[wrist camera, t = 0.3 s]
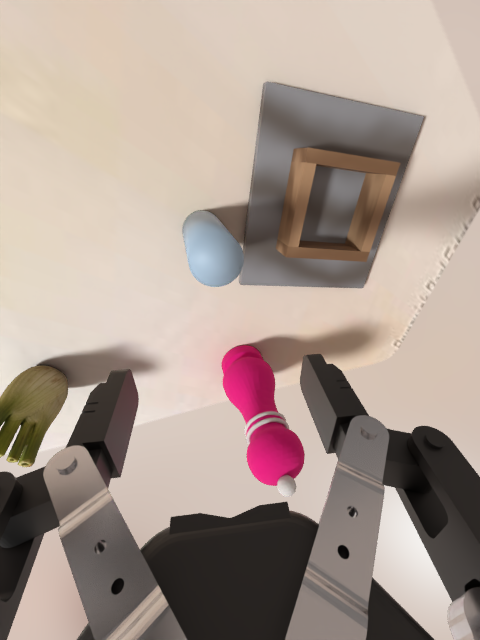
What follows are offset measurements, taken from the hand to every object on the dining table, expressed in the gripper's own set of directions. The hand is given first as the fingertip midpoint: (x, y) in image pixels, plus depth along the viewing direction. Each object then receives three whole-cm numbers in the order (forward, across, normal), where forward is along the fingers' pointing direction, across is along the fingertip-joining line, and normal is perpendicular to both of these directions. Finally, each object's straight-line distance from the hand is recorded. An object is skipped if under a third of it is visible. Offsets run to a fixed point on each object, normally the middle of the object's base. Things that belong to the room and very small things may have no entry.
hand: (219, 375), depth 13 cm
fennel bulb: (+20, +22, +16) cm, 34 cm away
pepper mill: (+23, -4, +19) cm, 30 cm away
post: (+23, +1, -1) cm, 23 cm away
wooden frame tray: (+24, -14, -3) cm, 28 cm away
